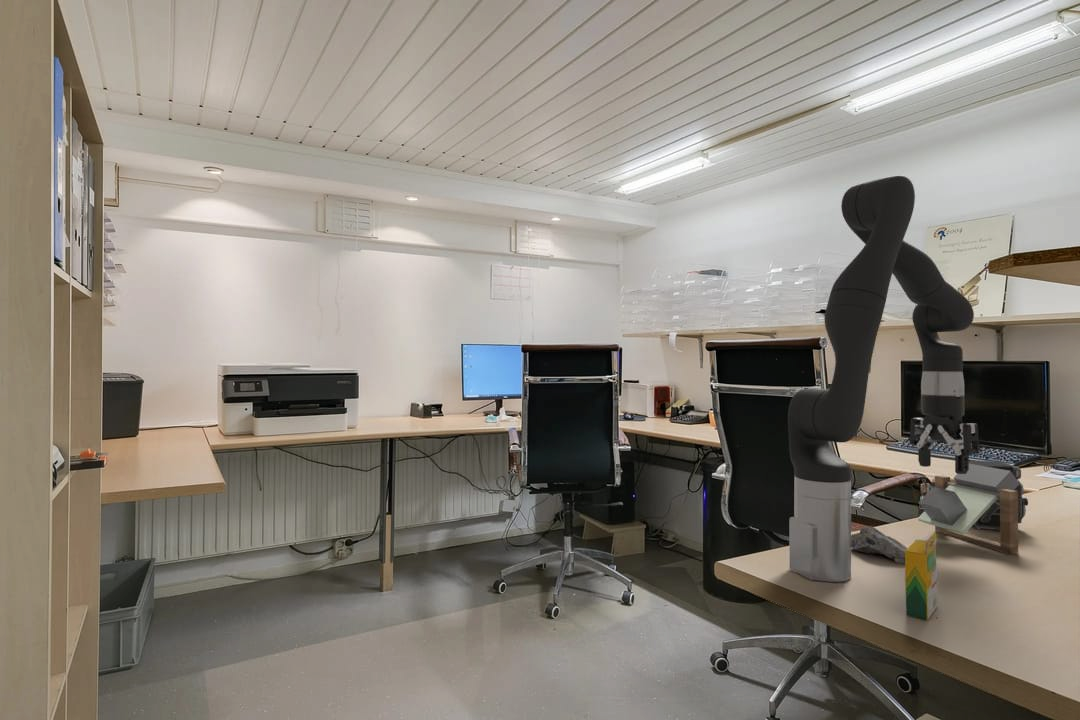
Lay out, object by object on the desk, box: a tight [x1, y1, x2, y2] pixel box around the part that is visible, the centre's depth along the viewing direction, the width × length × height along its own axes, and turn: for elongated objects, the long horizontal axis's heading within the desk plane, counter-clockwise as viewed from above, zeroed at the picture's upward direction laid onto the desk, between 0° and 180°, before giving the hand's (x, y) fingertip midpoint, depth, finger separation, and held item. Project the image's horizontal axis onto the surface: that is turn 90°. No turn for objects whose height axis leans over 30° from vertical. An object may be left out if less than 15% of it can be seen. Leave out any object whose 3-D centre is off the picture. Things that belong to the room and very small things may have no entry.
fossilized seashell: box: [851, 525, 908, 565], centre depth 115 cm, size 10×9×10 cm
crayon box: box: [904, 531, 938, 621], centre depth 89 cm, size 7×3×12 cm, turn 136°
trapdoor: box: [917, 464, 1019, 535], centre depth 123 cm, size 17×13×4 cm
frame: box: [934, 475, 1019, 555], centre depth 124 cm, size 2×17×12 cm, turn 12°
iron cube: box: [918, 486, 967, 526], centre depth 122 cm, size 5×5×5 cm
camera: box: [969, 460, 1029, 531], centre depth 135 cm, size 10×10×15 cm
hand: (942, 469), depth 122 cm, fingers open, 8 cm apart
